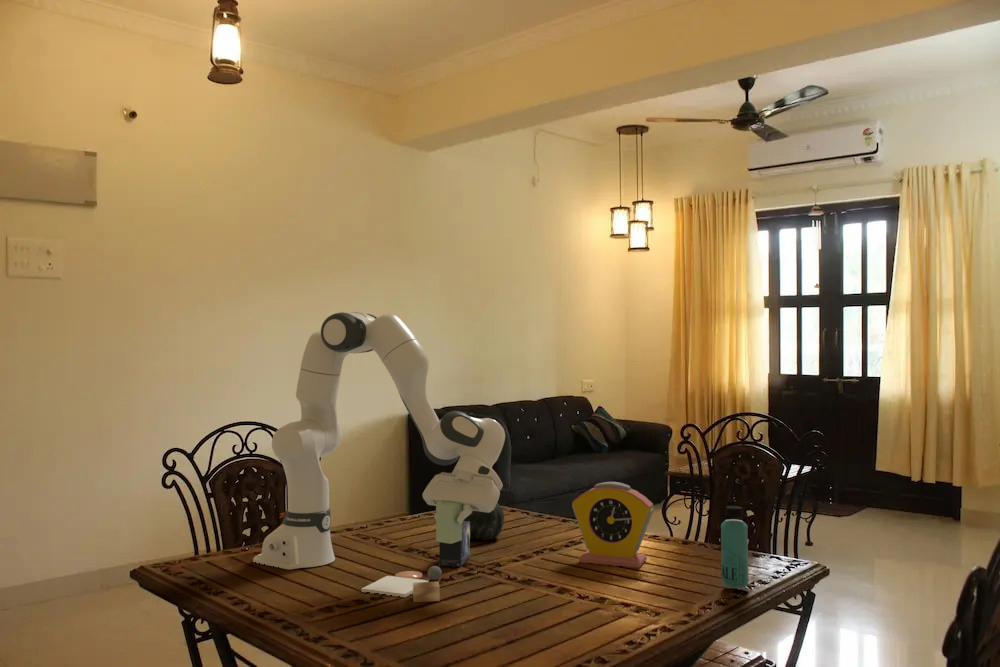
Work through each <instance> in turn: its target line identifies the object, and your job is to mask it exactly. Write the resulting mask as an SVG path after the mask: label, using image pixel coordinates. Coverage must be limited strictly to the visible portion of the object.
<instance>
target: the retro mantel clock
mask: <svg viewBox="0 0 1000 667" xmlns="http://www.w3.org/2000/svg"><path fill="white" fill-rule="evenodd" d="M571 503H572V505H571V508H572V509H573V513H574V516H575V519H576V521H577V525H578V527H579V531H580V532H581V536H582V537H583V538H582V539H583V542H584V544H585V546H586V549H587V550H586V551H585V552H584V553H583V554H581V555H580V556H579V557H578V562H579V563H580V562H581V563H580V564H587V563H594V564H593V565H598V564H603V565H602V566H608V565H611V567H619V566H623V567H622V568H629V567H635V568H634V569H639V568H640V567H641V566H643V564H644V563H645V562H646V561H647V559H648V558H647V557H648V556H647V554H646V553H638V551H639V550H640V548H641V545H642V542H643V539H644V537H645V534H646V531H647V528H648V527H649V526H648V525H649V523H650V520H651V519H652V518H651V517H652V516H653V515H652V514H653V513H654V510H655V508H654V503H653V502H652V501H651V500H649V499H648V497H646V496H645V495H644V494H642V493H640V492H639V491H638V490H636V489H633V488H631V486H630V485H629V484H625V483H623V482H618V481H604V482H599V483H597V484H594V486H593V487H592V488H591V489H589V490H587V491H585V492H584V493H582V494H580V495H579V496H577V497H576V498H575V499H573V501H572V502H571ZM636 567H637V568H636Z"/></svg>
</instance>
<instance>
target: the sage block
mask: <svg viewBox="0 0 1000 667" xmlns="http://www.w3.org/2000/svg"><path fill="white" fill-rule="evenodd" d="M461 512H462V503H454V502H443V503H439V504H436V506H435V514H436V519H435V541H436V542H438V543H439V542H443V543H449V544H452V543H455V542H458V541H461V540H462V524H457V523H455V521H454V518H455V516H456V514H460V513H461Z"/></svg>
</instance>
